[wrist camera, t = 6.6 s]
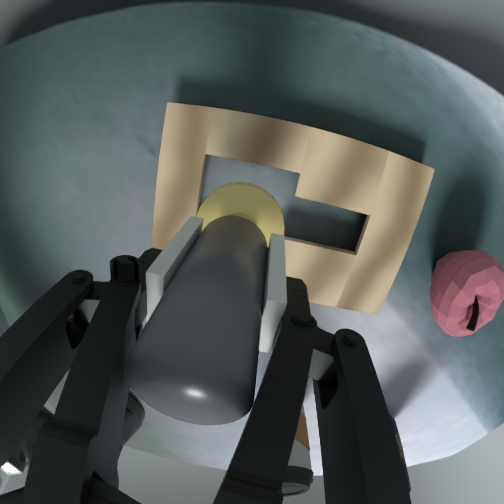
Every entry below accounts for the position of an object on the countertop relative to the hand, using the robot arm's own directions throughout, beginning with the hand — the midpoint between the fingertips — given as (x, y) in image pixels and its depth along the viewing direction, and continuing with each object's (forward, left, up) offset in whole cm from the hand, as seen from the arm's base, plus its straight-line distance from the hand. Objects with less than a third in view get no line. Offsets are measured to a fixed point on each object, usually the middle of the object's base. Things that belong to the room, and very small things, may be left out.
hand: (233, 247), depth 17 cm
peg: (0, 0, -4) cm, 4 cm away
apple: (+24, -2, -11) cm, 26 cm away
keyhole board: (+4, 0, -11) cm, 12 cm away
